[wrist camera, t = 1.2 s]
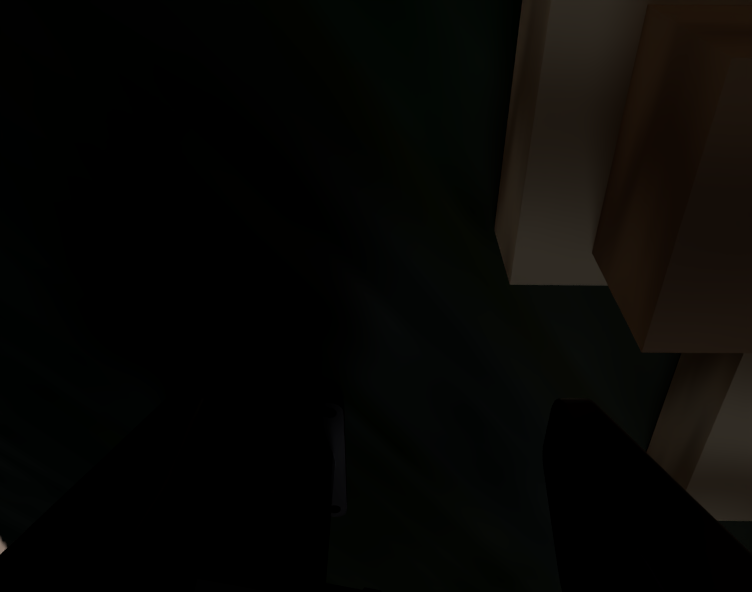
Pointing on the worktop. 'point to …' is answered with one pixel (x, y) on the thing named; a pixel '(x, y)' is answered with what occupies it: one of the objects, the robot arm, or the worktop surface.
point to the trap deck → (582, 213)
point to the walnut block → (684, 184)
